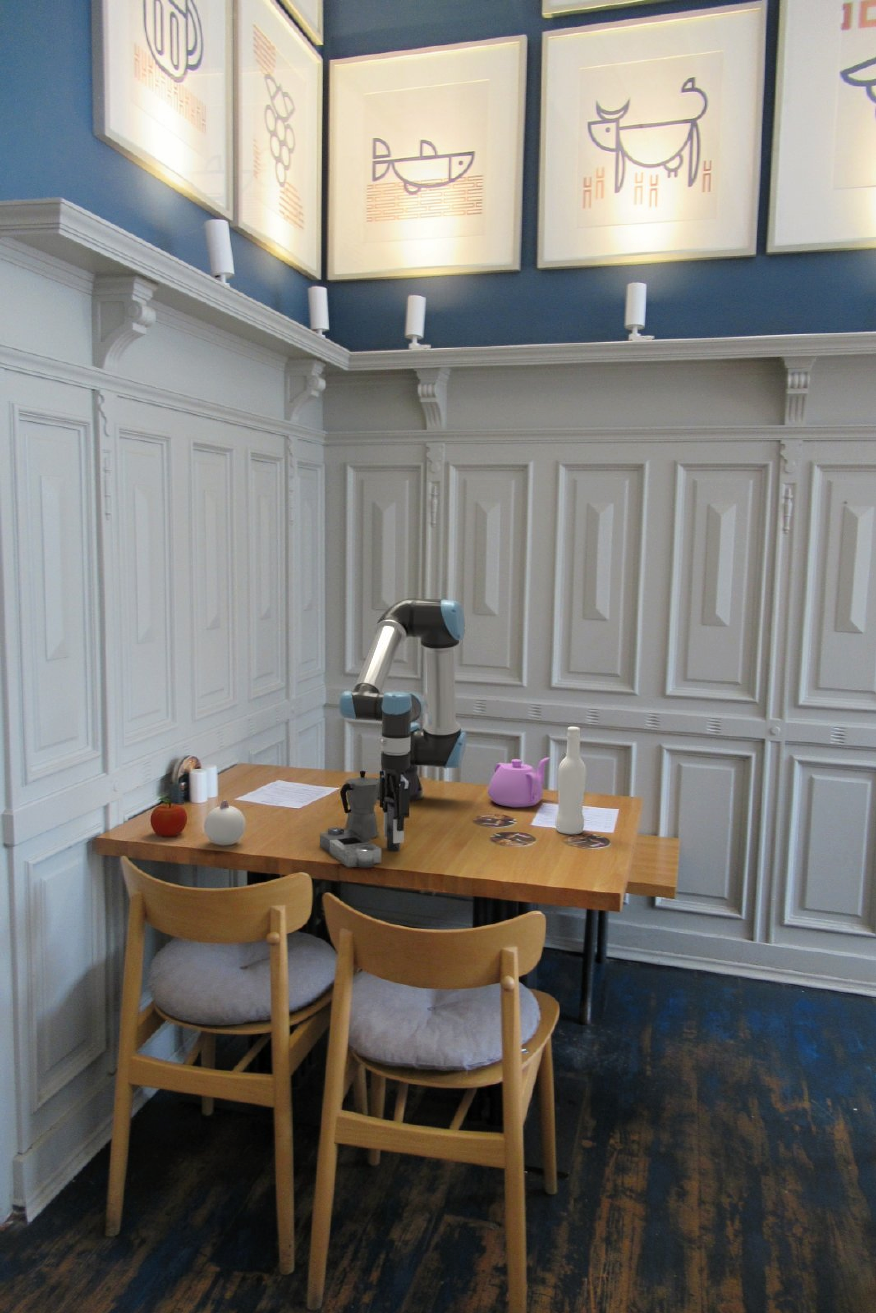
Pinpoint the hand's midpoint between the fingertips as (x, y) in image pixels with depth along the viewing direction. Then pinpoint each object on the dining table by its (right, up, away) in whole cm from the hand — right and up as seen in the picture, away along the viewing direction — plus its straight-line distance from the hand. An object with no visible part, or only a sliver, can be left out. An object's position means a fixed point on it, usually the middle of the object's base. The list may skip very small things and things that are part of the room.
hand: (393, 839), depth 249 cm
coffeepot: (-10, -1, +11) cm, 15 cm away
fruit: (-61, 0, +7) cm, 61 cm away
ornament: (-44, -2, 0) cm, 44 cm away
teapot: (+38, +2, +51) cm, 64 cm away
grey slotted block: (-11, -3, -5) cm, 12 cm away
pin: (0, -3, 0) cm, 3 cm away
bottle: (+49, -2, +22) cm, 54 cm away
